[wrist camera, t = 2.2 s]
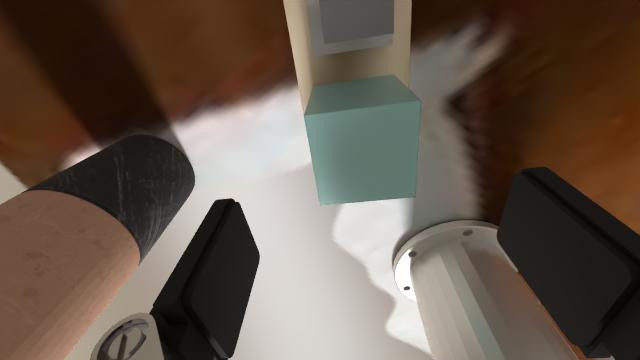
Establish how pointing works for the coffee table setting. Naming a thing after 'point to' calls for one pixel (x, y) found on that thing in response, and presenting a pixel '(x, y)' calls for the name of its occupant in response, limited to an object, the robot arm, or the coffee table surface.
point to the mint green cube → (363, 139)
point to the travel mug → (82, 242)
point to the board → (347, 52)
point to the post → (349, 24)
